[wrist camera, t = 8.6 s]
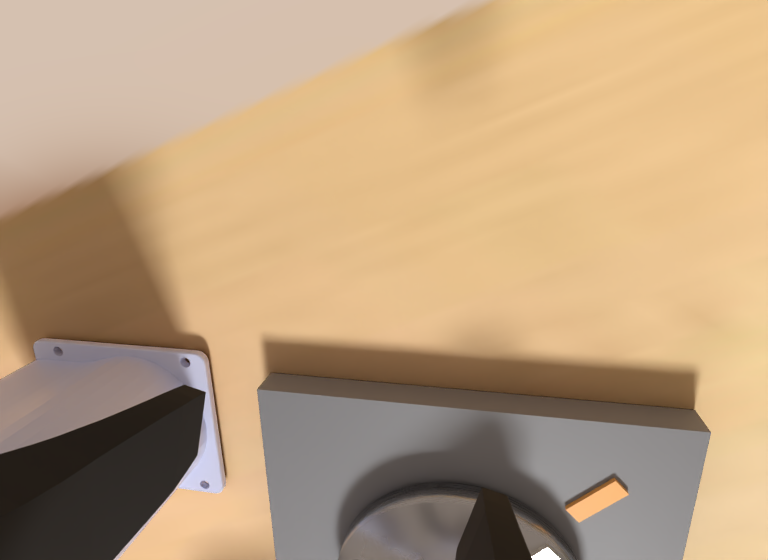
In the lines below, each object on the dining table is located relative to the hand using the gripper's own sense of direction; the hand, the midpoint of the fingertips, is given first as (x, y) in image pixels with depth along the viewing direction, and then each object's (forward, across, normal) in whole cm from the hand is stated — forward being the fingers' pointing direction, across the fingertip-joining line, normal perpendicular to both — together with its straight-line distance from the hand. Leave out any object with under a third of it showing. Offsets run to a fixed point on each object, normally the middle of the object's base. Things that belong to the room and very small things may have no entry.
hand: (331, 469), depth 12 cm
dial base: (+9, -6, +11) cm, 16 cm away
